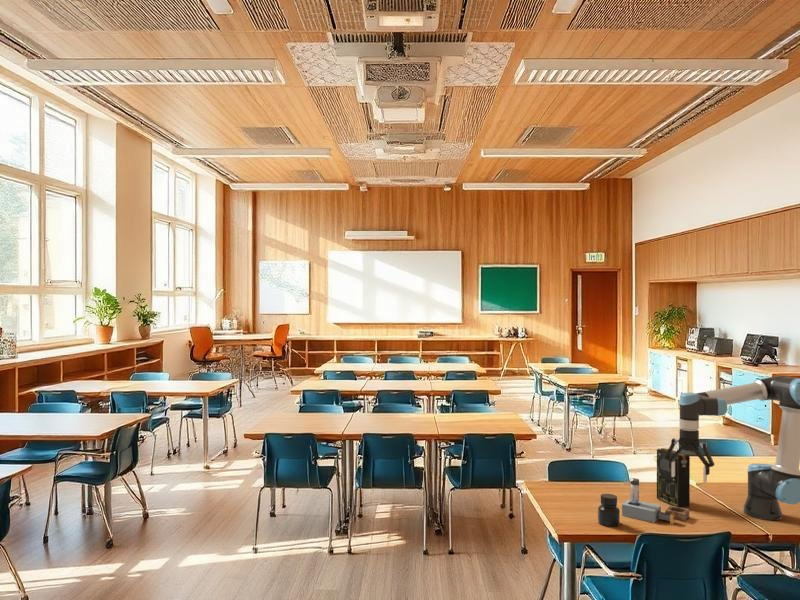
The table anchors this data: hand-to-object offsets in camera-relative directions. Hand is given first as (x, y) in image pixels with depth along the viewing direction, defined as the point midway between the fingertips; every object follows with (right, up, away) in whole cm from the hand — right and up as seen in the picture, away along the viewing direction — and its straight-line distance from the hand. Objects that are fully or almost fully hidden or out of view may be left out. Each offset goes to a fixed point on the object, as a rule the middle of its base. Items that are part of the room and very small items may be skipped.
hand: (688, 479), depth 253 cm
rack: (0, -21, +11) cm, 23 cm away
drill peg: (-18, -20, +14) cm, 31 cm away
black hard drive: (+7, -21, +31) cm, 38 cm away
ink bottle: (-34, -20, +2) cm, 40 cm away
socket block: (-16, -20, +12) cm, 28 cm away
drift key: (-8, -20, +6) cm, 23 cm away
